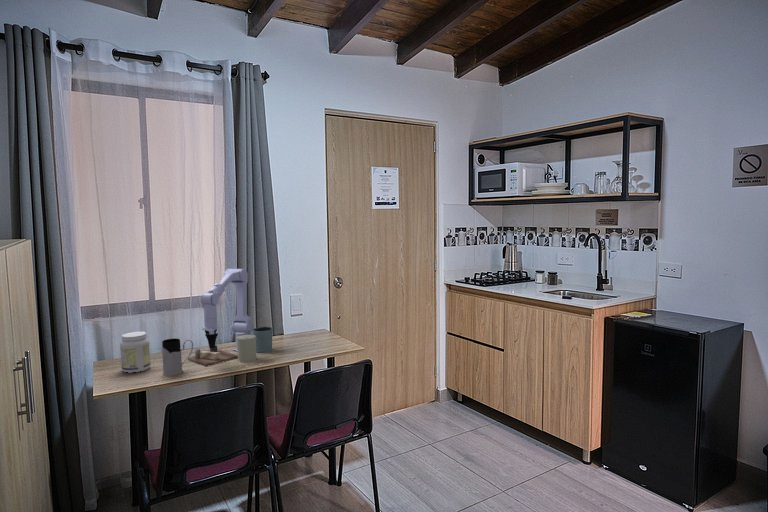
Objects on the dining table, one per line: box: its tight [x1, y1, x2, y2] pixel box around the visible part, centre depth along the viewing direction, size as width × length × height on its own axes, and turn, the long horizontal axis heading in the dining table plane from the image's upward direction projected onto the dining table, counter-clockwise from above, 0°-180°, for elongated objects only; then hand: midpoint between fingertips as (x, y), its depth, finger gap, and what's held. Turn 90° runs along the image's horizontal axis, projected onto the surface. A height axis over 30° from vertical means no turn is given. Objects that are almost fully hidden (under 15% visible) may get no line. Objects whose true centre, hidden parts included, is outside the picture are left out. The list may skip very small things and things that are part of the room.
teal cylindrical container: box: [252, 326, 274, 354], centre depth 257 cm, size 10×10×12 cm
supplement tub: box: [119, 331, 152, 374], centre depth 230 cm, size 12×12×17 cm
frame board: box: [187, 344, 238, 367], centre depth 245 cm, size 18×17×5 cm
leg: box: [200, 350, 219, 360], centre depth 242 cm, size 10×2×3 cm, turn 70°
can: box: [237, 335, 258, 363], centre depth 242 cm, size 9×9×12 cm
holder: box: [161, 338, 194, 377], centre depth 226 cm, size 9×14×15 cm, turn 134°
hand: (211, 346), depth 233 cm, fingers open, 7 cm apart
